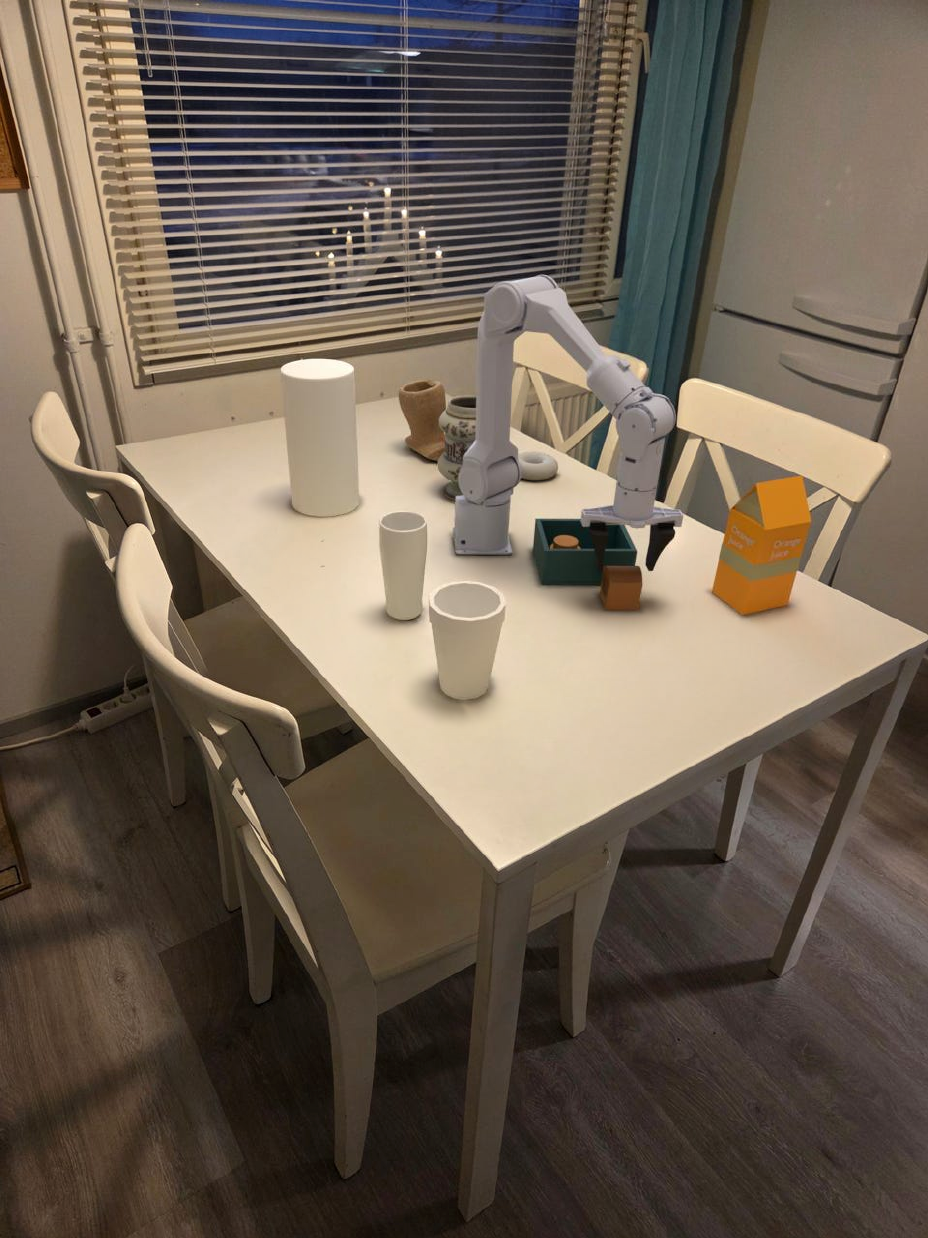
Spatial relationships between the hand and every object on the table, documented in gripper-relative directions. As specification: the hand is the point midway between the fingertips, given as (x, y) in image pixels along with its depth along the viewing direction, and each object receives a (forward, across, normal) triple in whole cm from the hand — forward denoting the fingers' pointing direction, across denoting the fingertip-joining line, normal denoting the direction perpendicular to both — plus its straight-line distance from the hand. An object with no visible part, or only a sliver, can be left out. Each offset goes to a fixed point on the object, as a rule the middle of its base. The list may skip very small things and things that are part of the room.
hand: (624, 567), depth 124 cm
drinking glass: (+6, -33, -3) cm, 34 cm away
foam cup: (+6, -25, -21) cm, 33 cm away
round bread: (+5, -7, +10) cm, 14 cm away
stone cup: (+6, -28, +62) cm, 68 cm away
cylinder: (+6, -48, +36) cm, 60 cm away
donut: (+6, -7, +51) cm, 52 cm away
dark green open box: (+6, -4, +11) cm, 13 cm away
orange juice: (+6, +21, +1) cm, 22 cm away
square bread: (+6, 0, 0) cm, 6 cm away
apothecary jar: (+6, -21, +41) cm, 46 cm away
